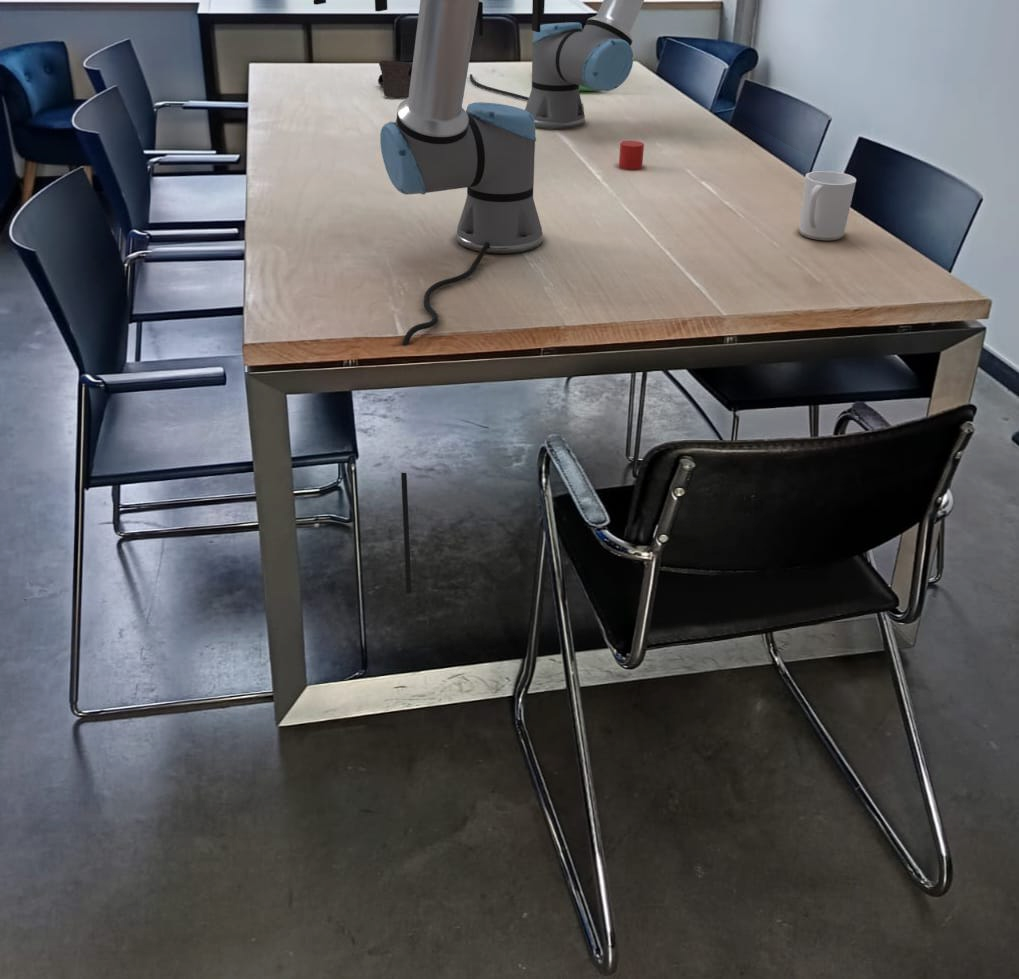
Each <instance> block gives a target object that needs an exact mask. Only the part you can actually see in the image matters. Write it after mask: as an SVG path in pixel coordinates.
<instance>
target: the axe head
mask: <svg viewBox="0 0 1019 979" xmlns="http://www.w3.org/2000/svg"><path fill="white" fill-rule="evenodd" d="M378 66H379V68H380V72H381V74H379V75H378V79H377V84H378V85H379V86H380V87H381V88H382V89H383V95H384V96H385V97H388V98H394V99H395V98H396V99H403V98H404V99H407V98H408V97H409V90H410V82H411V74H412V66H413V62H410V61H408V62H407V61H397V60H388V59H387V60H380V61H379V62H378Z"/></svg>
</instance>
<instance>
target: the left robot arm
mask: <svg viewBox="0 0 1019 979" xmlns="http://www.w3.org/2000/svg"><path fill="white" fill-rule="evenodd" d="M479 1H480V0H420V1H419V8H418V15H417V16H418V17H417V26H416V33H415V42H414V49H413V59H412V60H413V61H412V63H413V66H412V74H411V82H410V90H409V97H408V98H404V99H403V100H402V101H401V102H400V103H399V104H398V106H397V112H396V120H395V122H394V121H389V122H387V123H384V125H383V126H382V127H381V130H380V136H379V137H380V141H379V142H380V151H381V156H382V160H383V164H384V168H385V171H386V173H387V175H388V178H389V180H390V182H391V183H392V185H393V187H394V188H395V189H396V190H397V191H398V193H401V194H403V195H419V194H420V195H426V194H427V193H428V194H429V193H436V192H443V191H451V190H458V189H465V188H466V192H467V193H466V198H465V202H464V205H463V209H462V211H461V214H460V218H459V220H458V224H457V228H456V241H457V243H458V244H459V245H461V246H462V247H464V248H466V249H468V250H470V251H475V252H478V254H477V256H476V258H474V260H473V262H472V264H471V266H470V268H469V269H468V270H466V271H464V273H462V274H459V275H456V276H452V277H449V278H446V279H442V280H439V281H438V282H435V283H433V284H432V285H431V286H429V288H428V289H427V290H426V291H425V293H424V296H423V306H424V309H425V310H426V311H427V312H428V314H430V316H431V320H430V321H428V322H427V321H426V322H422V323H417V324H416V325H414V326H412V327H410V329H409V330H408V331H407V332H406V334H405V335H404V337H403V339H402V342H401V346H403V347H404V346H408V345H409V343H410V340H411V339H412V337H413V335H414V334H416V333H417V332H419V331H422V330H426V329H430V328H432V327H434V326H436V324H437V323H438V321H439V317H438V316H439V315H438V313H437V312H436V310H434V308H433V307H432V306H431V305H430V304H431V303H430V298H431V296H432V294H433V293H434V292H435V291H436V290H438V289H439V288H442V287H444V286H448V285H451V284H454V283H458V282H461V281H463V280H465V279H467V278H469V277H470V276H471V275H473V274H474V272H476V269H477V267H478V266H479V265H480V263H481V261H482V260H483V257H484V256H485V254H497V255H499V254H500V255H506V254H507V255H508V254H517V253H524V252H527V251H530V250H533V249H536V248H538V247H539V246H540V245H541V244H542V243H543V229H542V224H541V221H540V220H541V219H540V218H539V214H538V213H539V212H538V210H537V206H536V204H535V199H534V184H535V181H534V180H535V157H536V156H535V154H536V152H535V151H536V142H537V137H536V136H537V135H536V127H535V120H534V118H533V116H532V115H531V114H530V113H529V112H528V111H526V110H525V109H523V108H521V107H517V106H514V105H510V104H509V105H508V104H503V103H495V102H486V101H485V102H484V101H483V102H481V101H479V102H477V101H476V102H472V103H469V104H468V105H467V106H466V109H464V108H463V103H464V96H465V89H466V84H467V79H468V78H467V77H468V72H469V67H470V66H469V65H470V58H471V51H472V47H473V40H474V35H475V23H476V17H477V11H478V4H479ZM324 4H327V0H313V5H317V6H318V5H324ZM387 10H388V0H374V11H375V12H377V13H378V12H383V11H387ZM400 474H401V475H400V478H401V480H400V481H401V502H402V504H401V505H402V523H403V524H402V525H403V545H404V546H403V547H404V571H405V572H404V574H405V593H406V594H407V595H410V594H412V574H411V571H412V570H411V546H410V522H409V521H410V520H409V499H408V496H409V495H408V473H407V472H400Z"/></svg>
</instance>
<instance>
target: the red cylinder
mask: <svg viewBox="0 0 1019 979" xmlns="http://www.w3.org/2000/svg"><path fill="white" fill-rule="evenodd" d="M619 145H620V146H619V157H618V167H619V168H620V169H622V170H628V171H636V170H637V171H638V170H641V169H643V162H644V150H645V149H644V148H645V143H644V142H642V141H638V140H623V141H621V142H620V144H619Z"/></svg>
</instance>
